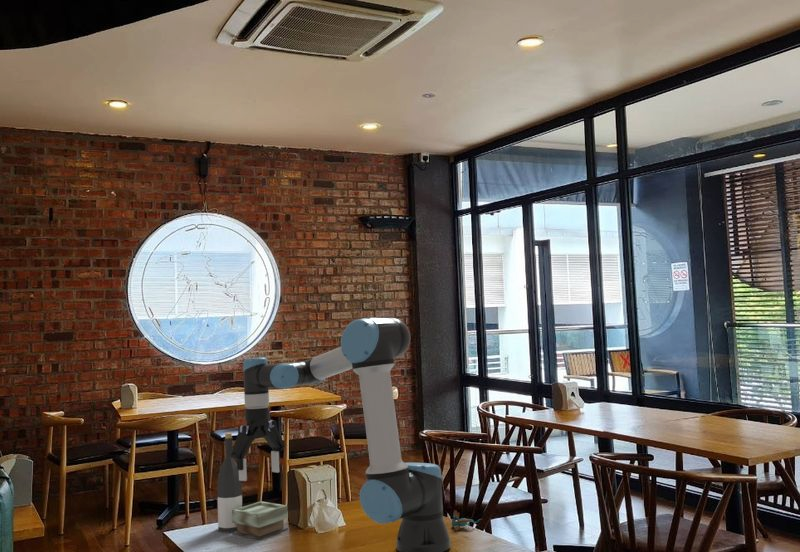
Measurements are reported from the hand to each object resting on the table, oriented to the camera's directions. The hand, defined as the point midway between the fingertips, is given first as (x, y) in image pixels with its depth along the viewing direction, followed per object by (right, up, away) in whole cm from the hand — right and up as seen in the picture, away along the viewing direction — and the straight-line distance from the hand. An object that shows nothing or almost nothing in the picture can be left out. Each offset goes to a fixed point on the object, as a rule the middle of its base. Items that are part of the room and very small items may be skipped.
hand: (259, 476), depth 229 cm
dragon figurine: (+68, -13, -4) cm, 69 cm away
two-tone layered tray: (0, -17, -1) cm, 17 cm away
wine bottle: (-10, -18, +3) cm, 21 cm away
